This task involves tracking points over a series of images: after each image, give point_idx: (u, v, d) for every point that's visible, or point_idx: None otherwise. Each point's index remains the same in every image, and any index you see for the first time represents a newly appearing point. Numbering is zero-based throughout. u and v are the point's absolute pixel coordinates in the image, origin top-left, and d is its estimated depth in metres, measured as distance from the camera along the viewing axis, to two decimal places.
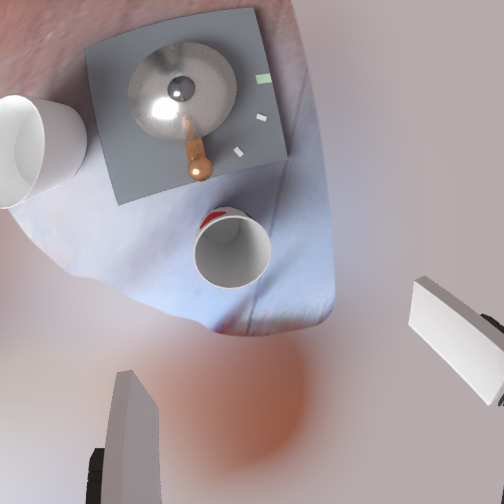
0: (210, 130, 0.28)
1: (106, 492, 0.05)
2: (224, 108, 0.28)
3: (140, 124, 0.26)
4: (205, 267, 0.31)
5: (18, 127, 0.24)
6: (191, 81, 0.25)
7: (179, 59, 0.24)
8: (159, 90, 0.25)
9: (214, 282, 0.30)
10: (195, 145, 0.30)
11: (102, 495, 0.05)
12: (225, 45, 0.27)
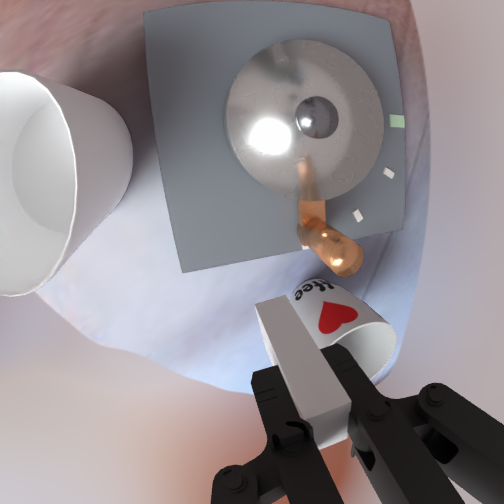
0: (345, 189, 0.20)
1: (300, 394, 0.08)
2: (366, 161, 0.19)
3: (245, 161, 0.18)
4: None
5: (19, 127, 0.14)
6: (334, 109, 0.17)
7: (316, 67, 0.16)
8: (282, 110, 0.17)
9: None
10: (315, 204, 0.21)
11: (297, 399, 0.08)
12: (358, 62, 0.19)
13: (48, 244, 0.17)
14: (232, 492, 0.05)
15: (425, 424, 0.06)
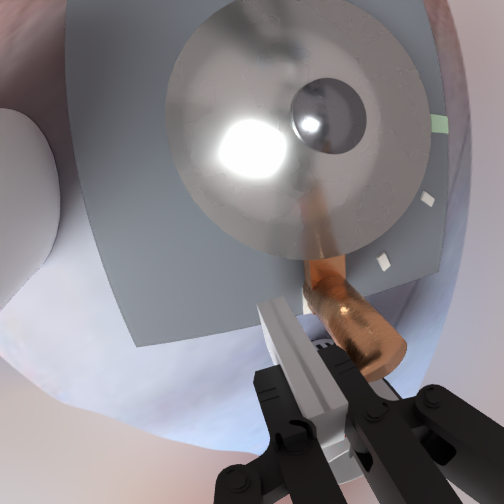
0: (378, 233, 0.12)
1: (303, 393, 0.08)
2: (409, 184, 0.11)
3: (206, 206, 0.10)
4: None
5: None
6: (358, 101, 0.09)
7: (320, 31, 0.08)
8: (265, 107, 0.09)
9: None
10: None
11: (300, 398, 0.08)
12: None
13: None
14: (235, 491, 0.05)
15: (422, 426, 0.06)
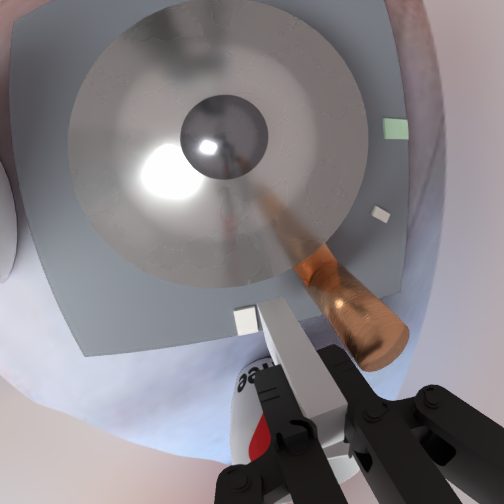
0: (342, 214, 0.11)
1: (303, 393, 0.08)
2: (354, 148, 0.10)
3: (163, 274, 0.11)
4: None
5: None
6: (243, 104, 0.09)
7: (171, 55, 0.08)
8: (162, 166, 0.09)
9: None
10: None
11: (300, 398, 0.08)
12: (327, 34, 0.11)
13: None
14: (236, 491, 0.05)
15: (422, 426, 0.06)
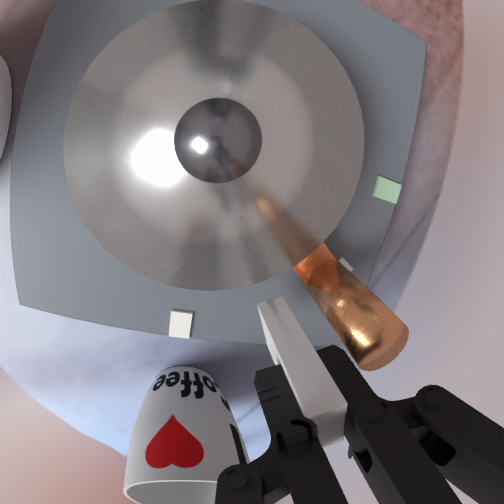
0: (339, 214, 0.11)
1: (304, 393, 0.08)
2: (350, 146, 0.10)
3: (162, 278, 0.11)
4: None
5: None
6: (236, 106, 0.09)
7: (163, 59, 0.08)
8: (157, 171, 0.09)
9: (149, 501, 0.12)
10: None
11: (301, 397, 0.08)
12: (356, 79, 0.12)
13: None
14: (236, 491, 0.05)
15: (421, 426, 0.06)
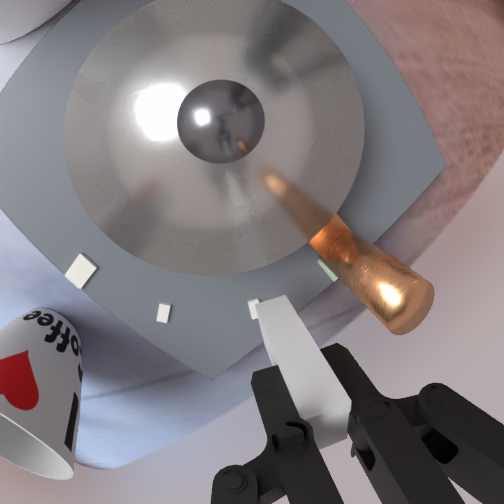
0: (349, 181, 0.11)
1: (300, 394, 0.08)
2: (350, 114, 0.10)
3: (181, 268, 0.11)
4: None
5: None
6: (234, 86, 0.08)
7: (154, 51, 0.08)
8: (163, 160, 0.09)
9: None
10: None
11: (297, 399, 0.08)
12: (366, 156, 0.14)
13: None
14: (232, 492, 0.05)
15: (425, 424, 0.06)
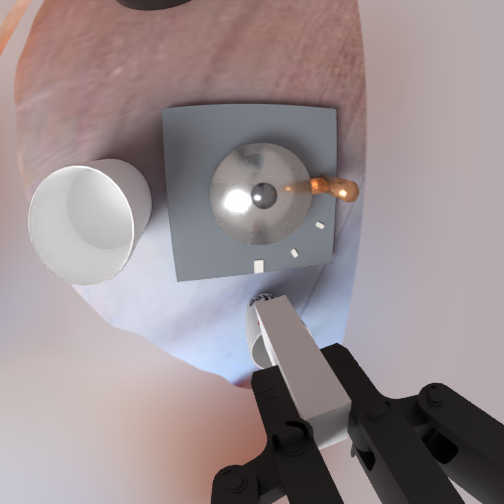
0: (305, 172, 0.32)
1: (300, 394, 0.08)
2: (288, 157, 0.31)
3: (288, 234, 0.34)
4: (252, 349, 0.36)
5: (75, 176, 0.28)
6: (258, 186, 0.31)
7: (229, 195, 0.31)
8: (260, 215, 0.32)
9: (261, 364, 0.35)
10: (311, 185, 0.34)
11: (297, 399, 0.08)
12: (304, 148, 0.34)
13: (95, 256, 0.30)
14: (232, 492, 0.05)
15: (425, 424, 0.06)
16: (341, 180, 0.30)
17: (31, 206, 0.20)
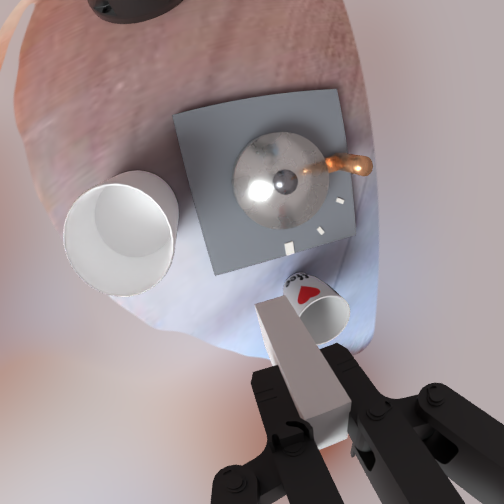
0: (320, 153, 0.32)
1: (300, 394, 0.08)
2: (301, 142, 0.31)
3: (313, 214, 0.35)
4: None
5: (99, 194, 0.31)
6: (279, 174, 0.32)
7: (253, 187, 0.32)
8: (284, 201, 0.34)
9: None
10: (326, 164, 0.35)
11: (297, 399, 0.08)
12: (314, 130, 0.34)
13: (133, 266, 0.33)
14: (232, 492, 0.05)
15: (425, 424, 0.06)
16: (354, 156, 0.31)
17: (65, 231, 0.23)
